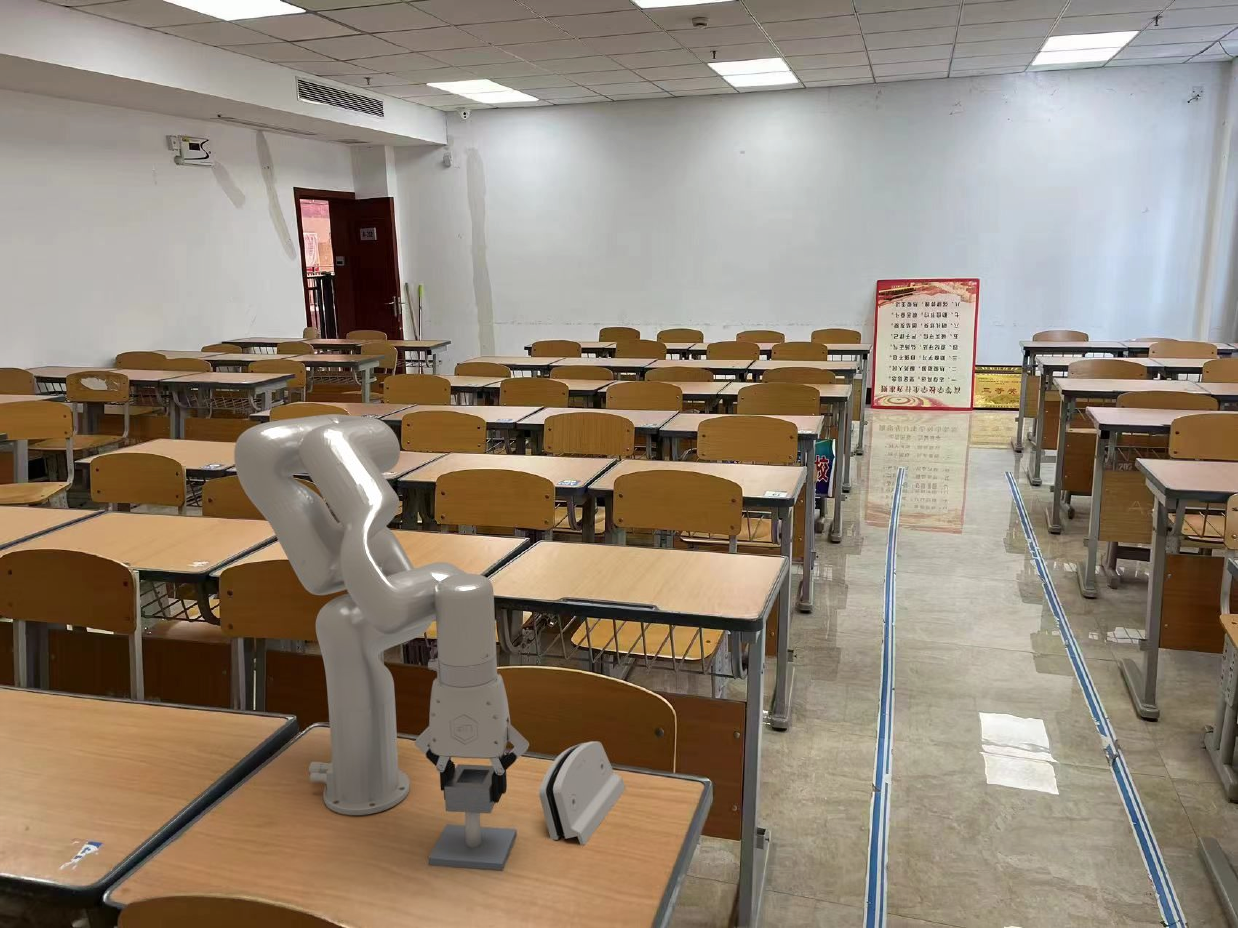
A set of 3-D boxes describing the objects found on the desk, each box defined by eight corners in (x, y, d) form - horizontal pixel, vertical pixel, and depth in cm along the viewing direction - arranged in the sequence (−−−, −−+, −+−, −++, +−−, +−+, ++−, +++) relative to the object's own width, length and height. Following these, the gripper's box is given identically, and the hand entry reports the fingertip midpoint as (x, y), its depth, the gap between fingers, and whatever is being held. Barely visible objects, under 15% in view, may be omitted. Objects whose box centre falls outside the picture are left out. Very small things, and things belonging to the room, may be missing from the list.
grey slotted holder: (583, 847, 128) (559, 779, 127) (553, 850, 130) (530, 783, 129) (626, 786, 143) (605, 726, 142) (599, 791, 145) (579, 731, 144)
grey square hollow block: (445, 811, 123) (444, 786, 122) (459, 787, 129) (458, 764, 128) (490, 813, 122) (489, 788, 121) (501, 789, 128) (500, 766, 127)
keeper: (428, 864, 124) (426, 816, 122) (447, 830, 132) (445, 785, 130) (502, 870, 123) (501, 822, 121) (516, 835, 130) (515, 789, 129)
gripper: (394, 678, 120) (402, 807, 123) (526, 683, 117) (531, 814, 120) (414, 656, 127) (421, 778, 130) (538, 660, 125) (542, 784, 128)
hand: (474, 794), depth 125 cm, fingers closed on grey square hollow block, 6 cm apart
